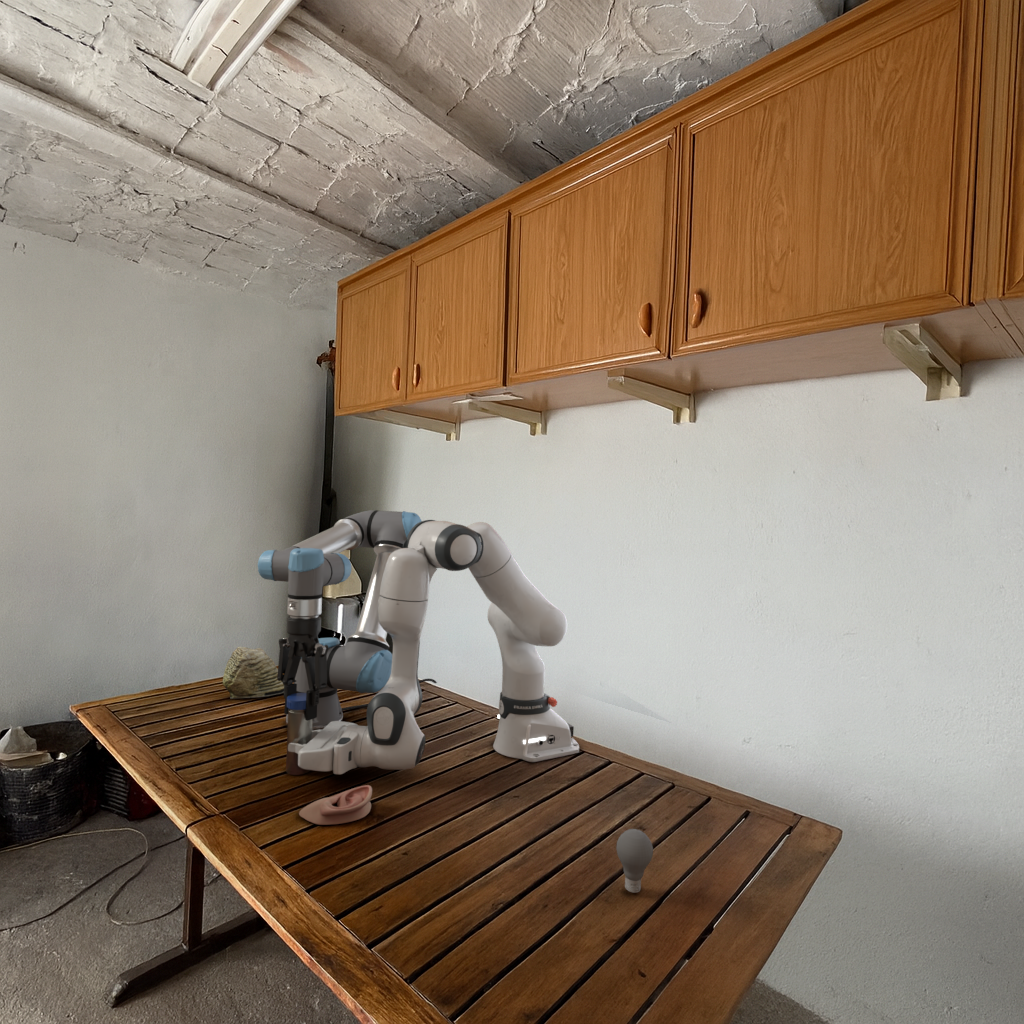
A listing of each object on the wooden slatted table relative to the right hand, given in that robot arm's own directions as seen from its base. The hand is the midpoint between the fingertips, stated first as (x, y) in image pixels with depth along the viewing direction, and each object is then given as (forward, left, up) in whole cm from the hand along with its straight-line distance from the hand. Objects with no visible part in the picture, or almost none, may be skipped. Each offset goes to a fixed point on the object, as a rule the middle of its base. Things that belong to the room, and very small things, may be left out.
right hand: (295, 740), depth 146 cm
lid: (-1, 0, +10) cm, 10 cm away
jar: (-1, 0, -7) cm, 7 cm away
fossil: (+11, -59, -7) cm, 60 cm away
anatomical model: (-8, +23, -7) cm, 25 cm away
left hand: (-1, 0, +6) cm, 6 cm away
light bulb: (-53, +62, -7) cm, 82 cm away
